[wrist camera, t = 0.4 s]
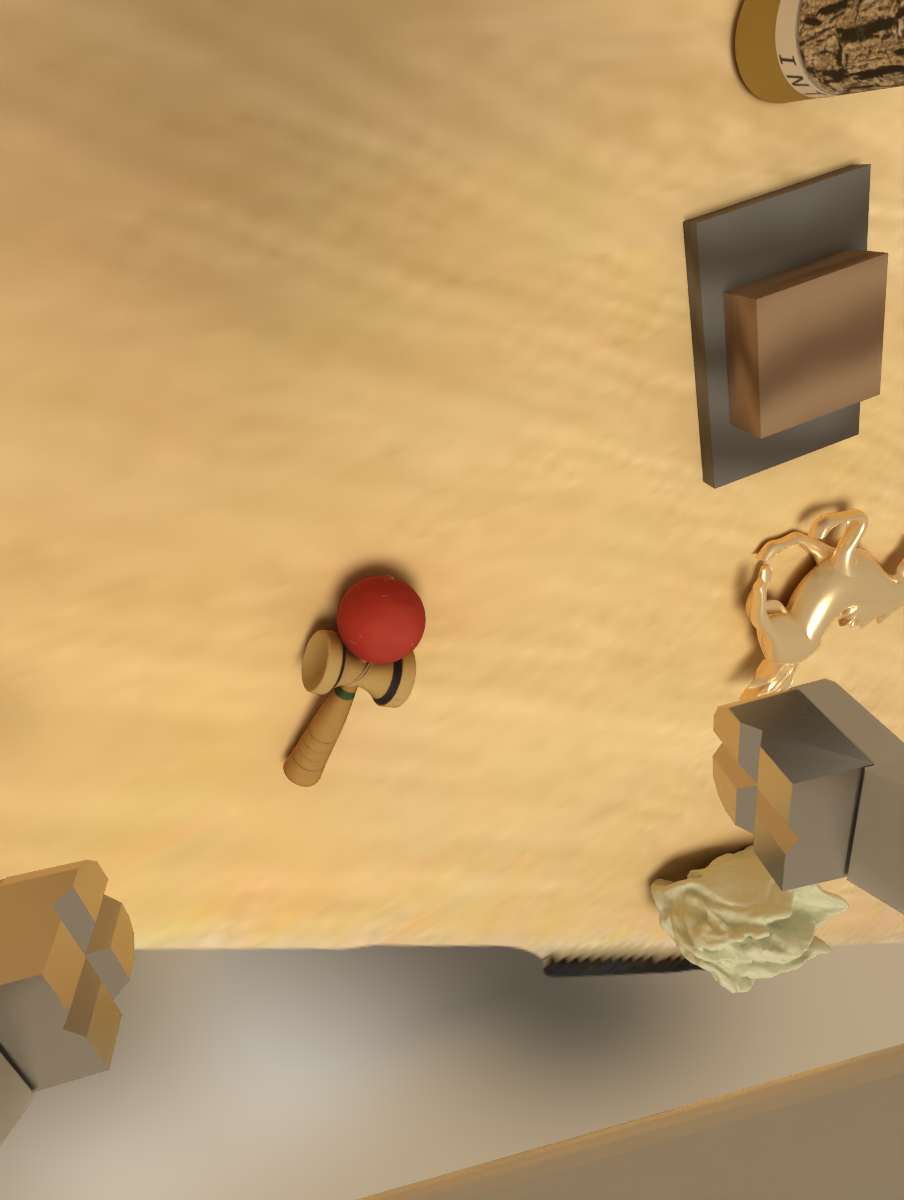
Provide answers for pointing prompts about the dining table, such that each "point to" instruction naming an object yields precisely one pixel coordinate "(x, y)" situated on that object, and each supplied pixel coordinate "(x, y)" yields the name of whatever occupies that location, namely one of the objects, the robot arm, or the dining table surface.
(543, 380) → the dining table surface
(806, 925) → the folded clay sculpture
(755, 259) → the plinth
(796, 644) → the unicorn
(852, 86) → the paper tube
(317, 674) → the kendama
